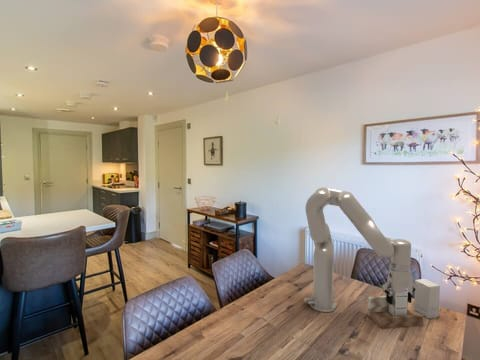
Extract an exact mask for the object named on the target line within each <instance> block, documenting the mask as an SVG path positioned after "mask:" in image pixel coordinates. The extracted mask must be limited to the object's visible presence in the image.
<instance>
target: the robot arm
mask: <svg viewBox="0 0 480 360" xmlns="http://www.w3.org/2000/svg"><path fill="white" fill-rule="evenodd" d="M328 205H330V206H335V207H339V208H340V210H341V211H342V212H343V214H344V215H345V217H347V218H348V220H349V222H351V224H352V225H353V226H354V227H355V228H356V230H357V231H358V233H360V234H359V235H361V236H362V237H363V239H364V240H365V242H367V244H368V245H369V247H370V248H371V249H372V250H373V251H374V253H375V254H376V255H377V256H379V257H380V258H382V259H386V260H387V259H390V264H389V265H388V266H389V270H388V274H387V275H388V276H387V281H386V282H385V283H383V284H381V288H382V291H383V292H384V293H385V294H386V295H385V296H386V301H387V302H388V303H389V304H391V305H392V299H393V297H392V296H391V295H392V294H393V293H403V292H404V289H406V288H408V299H407V301H408V304H412V299H413V298H412V297H413V295H414V293H415V288H416V287H417V284H416V283H415V281H414V277H413V272H412V269H411V258H412V255H411V254H412V243H411V242H410V241H409V240H407V239H403V238H396V239H394V238H391V237H385V235H384V234H383V233H382V231H381V230H380V228H378V226H377V225H376V223H375V221H374V220H373V218H372V216H370V214H369V213H368V212H367V211H366V210H365V208H364V207H363V206H362V205H361V204H360V202H359V200H357V198H356V197H355V196H354V194H352V192H349V191H346V190H341V189H340V190H339V189H333V188H330V187H319V188H318V189H316V190H315V192H314V193H312V194H311V195H310V196H309V198H308V199H307V201H306V203H305V214H306V221H307V225H308V230H309V236H310V238H311V240H312V241H313V243H314V244H313V245H314V251H313V277H312V278H313V283H312V284H313V289H312V294H311V296H310V297H304V298H303V302H304V303H308V305H310V307H311V308H312V309H314V310H315V311H317V312H321V313H332V312H334V311H335V310H336V304H335V302H334V300H333V298H334V295H333V294H334V293H333V292H334V289H333V288H334V266H335V265H334V262H335V261H334V260H335V249H334V244H333V239H332V235H331V234H332V233H331V229H330V227H329V225H328V224H327V223H326V219H325V214H324V208H325V207H326V206H328ZM390 290H391V291H390ZM389 291H390V293H389Z"/></svg>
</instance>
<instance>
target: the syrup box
mask: <svg viewBox="0 0 480 360" xmlns="http://www.w3.org/2000/svg"><path fill="white" fill-rule="evenodd" d="M390 291H391V290H390ZM390 291H389V293H390ZM391 296H392V297H393V299H392V305H391V304H389V306H388V312H389V313H390V314H391V315H392V316H393V317H394V316H406V315H407V299H408V288H406V289H404V292H403V293H393V294H392V295H391Z"/></svg>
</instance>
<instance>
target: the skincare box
mask: <svg viewBox="0 0 480 360" xmlns="http://www.w3.org/2000/svg"><path fill="white" fill-rule="evenodd" d="M414 283H416V284H417V287H416V288H415V291H414V302H413V303H414V307H413V308H414V311H416V312H418V313H419V314H422V315H423V317H425V318H427V319H435V318H439V317H440V299H441V297H440V295H441V293H440V290H441V289H440V288H441V286H440V284H437V283H435V282H433V281H431V280H429V279H426V278H421V279H415V280H414Z"/></svg>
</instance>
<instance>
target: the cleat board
mask: <svg viewBox="0 0 480 360" xmlns="http://www.w3.org/2000/svg"><path fill="white" fill-rule="evenodd" d="M388 306H389V303H388V302H387V301H386V295H377V296H376V295H375V296H367V316H368V317H369V318H370V319H371V320H372V321H373V322H375V324H376V325H377V326H378V327H380V329H382V330H385V329H397V328H409V327H419V326H423V325H424V315H422V314H421V313H419V314H415V313H414V312H412V311H410V310H409V309H408V308H409V302H408V301H407V315H406V316H394V317H393V316H392V315H391V314H390V313H389V312H388Z"/></svg>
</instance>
